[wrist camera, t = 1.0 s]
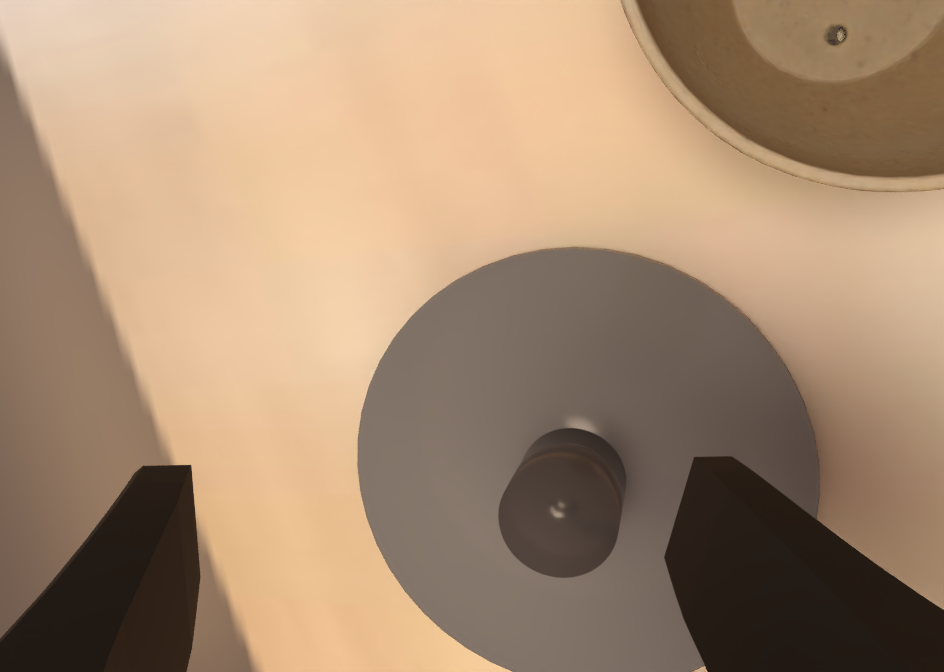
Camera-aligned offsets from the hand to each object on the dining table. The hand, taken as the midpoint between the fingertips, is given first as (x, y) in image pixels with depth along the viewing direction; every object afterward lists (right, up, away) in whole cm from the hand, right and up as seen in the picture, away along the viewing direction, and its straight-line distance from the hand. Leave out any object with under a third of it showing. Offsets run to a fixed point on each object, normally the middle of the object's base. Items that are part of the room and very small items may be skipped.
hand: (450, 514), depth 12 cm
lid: (+3, -1, +12) cm, 13 cm away
